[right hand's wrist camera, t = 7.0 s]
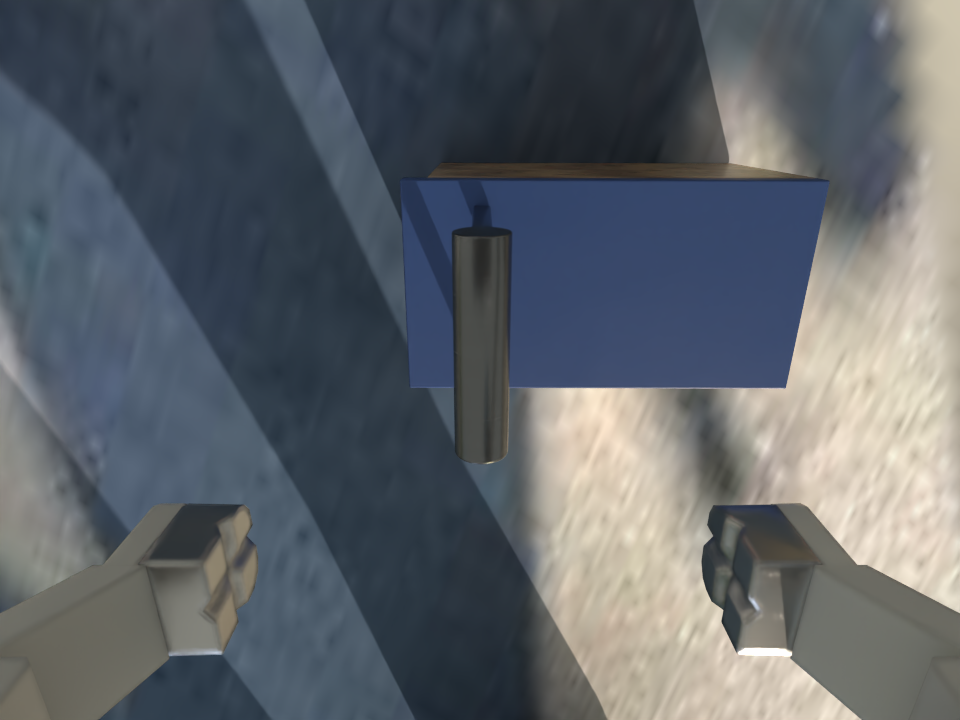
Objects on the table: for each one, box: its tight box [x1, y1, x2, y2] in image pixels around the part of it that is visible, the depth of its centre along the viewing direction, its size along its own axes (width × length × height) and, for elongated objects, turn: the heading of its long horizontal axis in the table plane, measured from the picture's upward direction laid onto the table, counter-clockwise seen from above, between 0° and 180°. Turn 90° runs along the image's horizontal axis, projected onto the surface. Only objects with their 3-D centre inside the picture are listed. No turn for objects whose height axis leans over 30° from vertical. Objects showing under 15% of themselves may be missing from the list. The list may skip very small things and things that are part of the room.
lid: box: [400, 178, 829, 464], centre depth 22 cm, size 17×9×9 cm, turn 90°
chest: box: [427, 163, 812, 178], centre depth 31 cm, size 16×9×9 cm, turn 90°
